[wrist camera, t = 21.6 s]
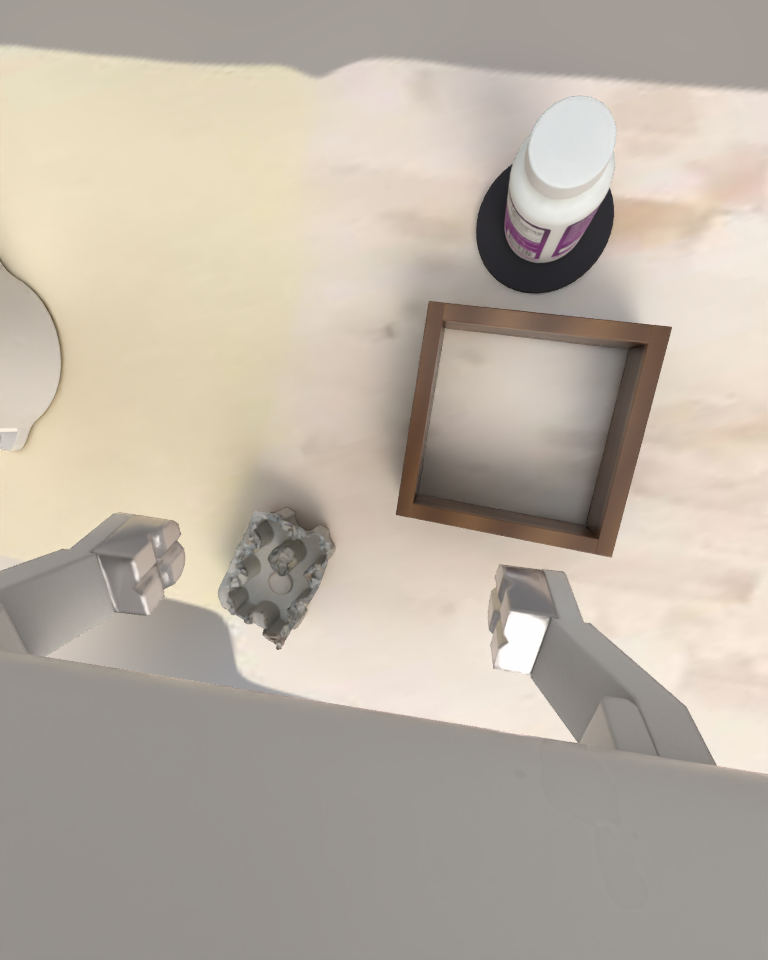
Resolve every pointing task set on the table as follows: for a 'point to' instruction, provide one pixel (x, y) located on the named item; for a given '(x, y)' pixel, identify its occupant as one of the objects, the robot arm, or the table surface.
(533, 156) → the pill bottle
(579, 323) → the wooden square frame
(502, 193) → the coaster
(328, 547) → the egg carton
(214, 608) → the table surface
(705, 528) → the table surface
